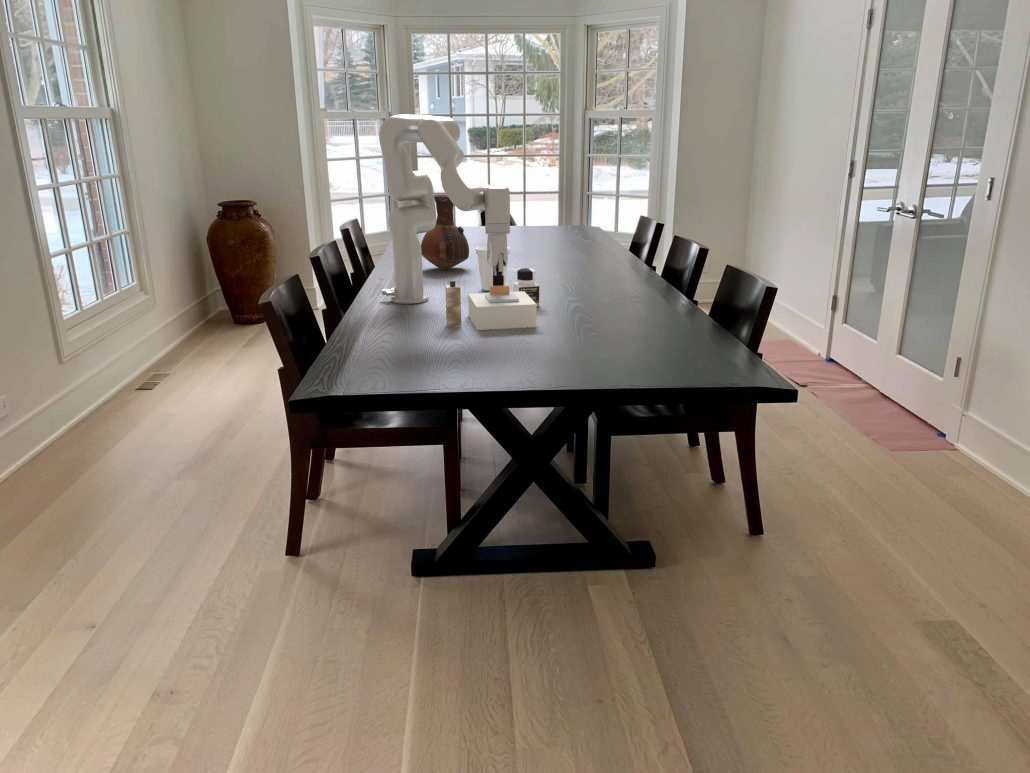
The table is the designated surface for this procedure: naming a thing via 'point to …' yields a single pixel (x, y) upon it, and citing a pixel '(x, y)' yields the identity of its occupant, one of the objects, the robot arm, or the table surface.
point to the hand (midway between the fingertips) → (498, 287)
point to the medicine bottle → (527, 284)
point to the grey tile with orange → (500, 294)
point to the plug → (453, 305)
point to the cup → (487, 267)
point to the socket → (502, 312)
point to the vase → (445, 238)
